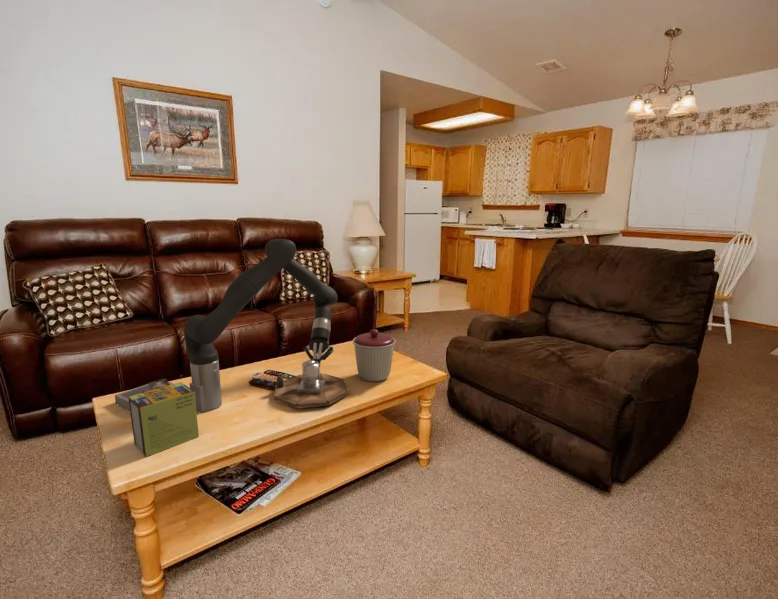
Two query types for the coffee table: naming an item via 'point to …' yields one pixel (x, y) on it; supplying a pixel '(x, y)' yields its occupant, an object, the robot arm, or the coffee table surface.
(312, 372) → the silver post on plate
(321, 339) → the robot arm
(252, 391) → the coffee table surface
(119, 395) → the chock frame
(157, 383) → the caster wheel
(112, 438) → the coffee table surface
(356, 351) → the canister
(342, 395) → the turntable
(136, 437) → the protein box
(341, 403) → the coffee table surface
